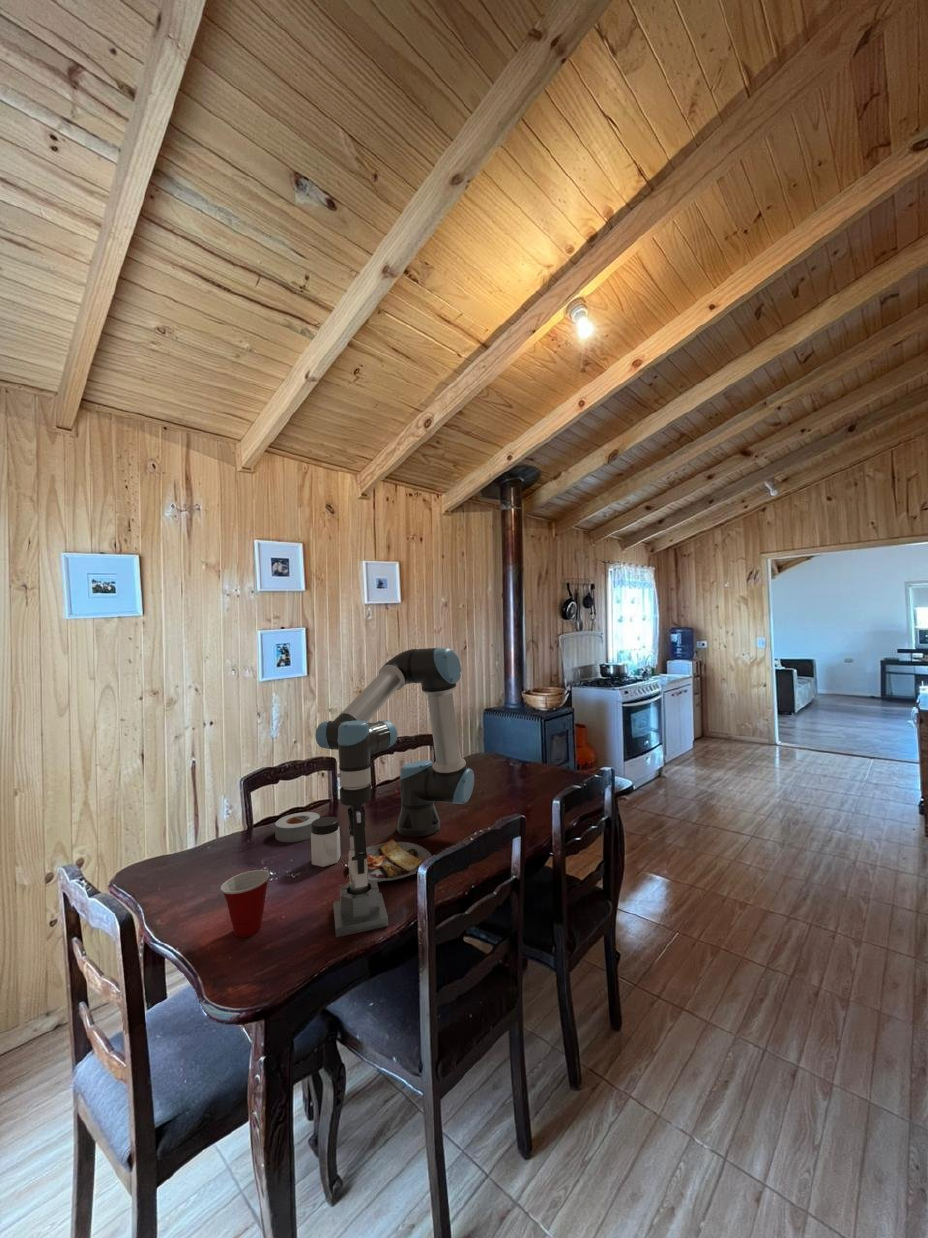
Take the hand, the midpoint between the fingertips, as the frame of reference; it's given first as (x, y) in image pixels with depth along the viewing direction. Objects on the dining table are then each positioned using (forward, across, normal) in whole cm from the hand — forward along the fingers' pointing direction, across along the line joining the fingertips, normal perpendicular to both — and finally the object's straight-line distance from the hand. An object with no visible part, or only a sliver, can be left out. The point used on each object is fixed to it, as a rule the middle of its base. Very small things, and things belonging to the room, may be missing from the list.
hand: (358, 873), depth 119 cm
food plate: (+11, -25, +11) cm, 30 cm away
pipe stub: (+9, 0, 0) cm, 9 cm away
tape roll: (+11, -63, -16) cm, 66 cm away
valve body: (+11, -2, 0) cm, 11 cm away
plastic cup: (+11, -5, -26) cm, 29 cm away
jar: (+11, -36, -7) cm, 38 cm away
